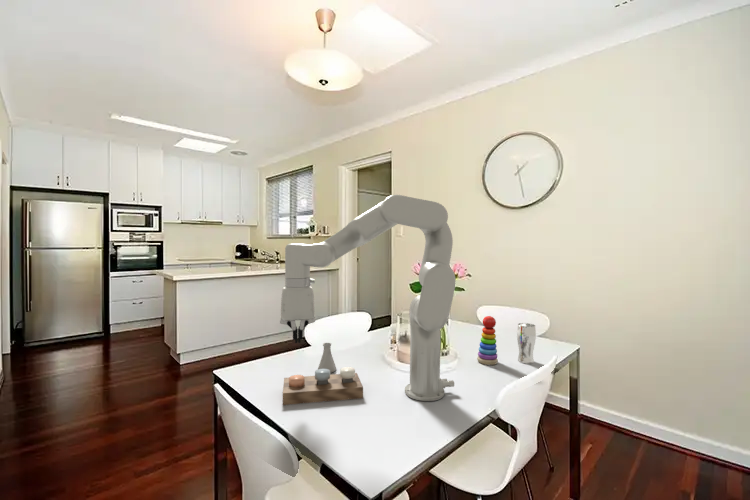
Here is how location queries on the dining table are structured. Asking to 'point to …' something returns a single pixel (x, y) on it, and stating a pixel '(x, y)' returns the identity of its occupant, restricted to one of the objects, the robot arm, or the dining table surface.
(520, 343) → the beer glass
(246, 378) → the dining table surface
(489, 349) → the stacking toy
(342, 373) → the ivory button
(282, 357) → the dining table surface
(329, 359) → the flask
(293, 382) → the terracotta button
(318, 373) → the slate button
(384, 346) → the dining table surface
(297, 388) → the button panel
